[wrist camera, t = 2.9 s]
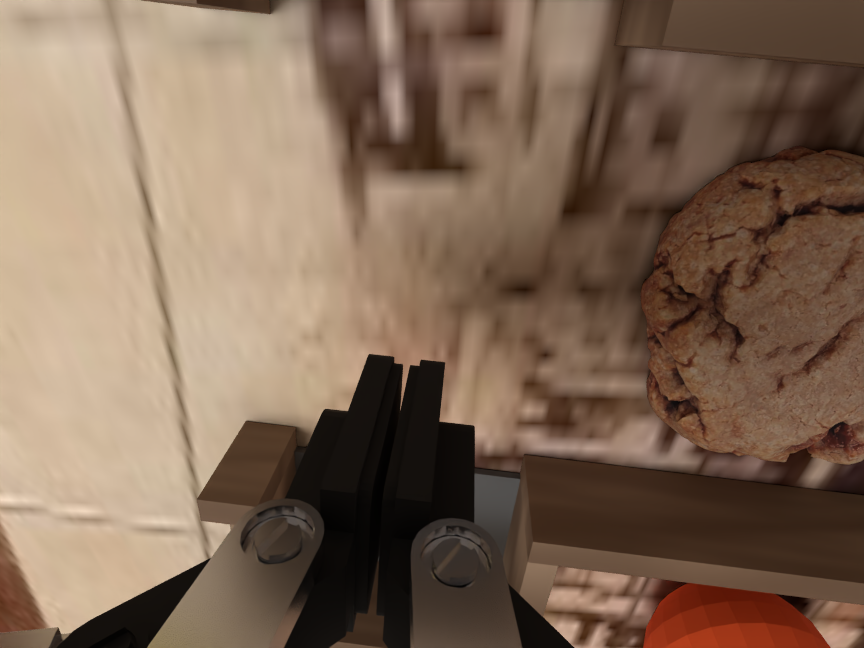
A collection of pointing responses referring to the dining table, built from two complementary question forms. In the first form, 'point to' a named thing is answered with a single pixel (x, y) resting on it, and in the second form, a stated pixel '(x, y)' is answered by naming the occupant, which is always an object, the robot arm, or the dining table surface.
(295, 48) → the dining table surface
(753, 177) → the cookie
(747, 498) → the channel
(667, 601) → the clementine
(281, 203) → the dining table surface
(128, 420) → the dining table surface
